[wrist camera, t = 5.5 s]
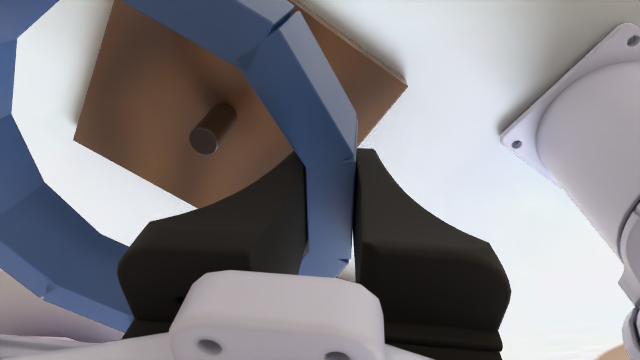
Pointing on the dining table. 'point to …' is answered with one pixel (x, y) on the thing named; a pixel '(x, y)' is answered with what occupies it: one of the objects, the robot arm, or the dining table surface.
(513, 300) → the dining table surface
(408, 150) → the dining table surface
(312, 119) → the blue ring
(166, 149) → the platform
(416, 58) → the dining table surface
